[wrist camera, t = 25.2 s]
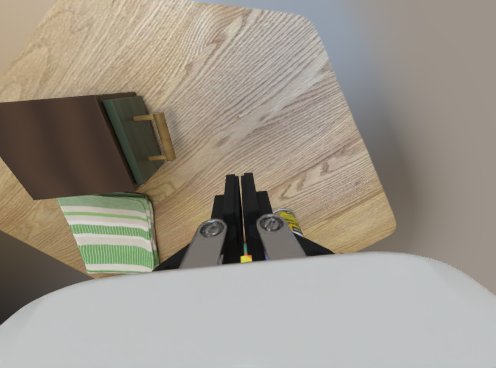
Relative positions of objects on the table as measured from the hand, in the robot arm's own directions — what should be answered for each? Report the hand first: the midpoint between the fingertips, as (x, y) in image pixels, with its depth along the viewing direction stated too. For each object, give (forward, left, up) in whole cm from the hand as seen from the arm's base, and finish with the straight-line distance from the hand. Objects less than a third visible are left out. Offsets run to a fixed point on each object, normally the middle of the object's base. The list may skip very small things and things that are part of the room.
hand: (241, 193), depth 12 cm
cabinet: (0, -23, -23) cm, 33 cm away
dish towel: (+22, -30, -23) cm, 44 cm away
